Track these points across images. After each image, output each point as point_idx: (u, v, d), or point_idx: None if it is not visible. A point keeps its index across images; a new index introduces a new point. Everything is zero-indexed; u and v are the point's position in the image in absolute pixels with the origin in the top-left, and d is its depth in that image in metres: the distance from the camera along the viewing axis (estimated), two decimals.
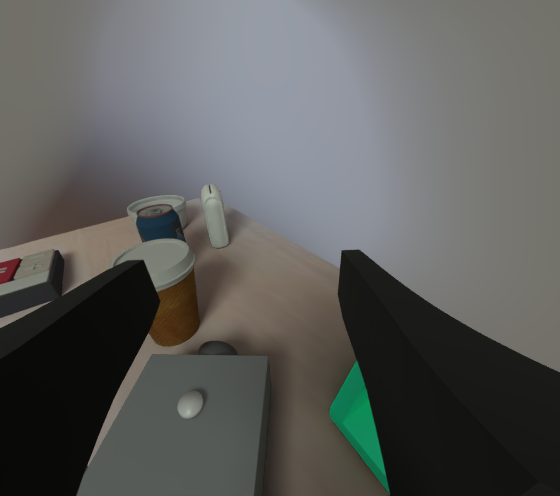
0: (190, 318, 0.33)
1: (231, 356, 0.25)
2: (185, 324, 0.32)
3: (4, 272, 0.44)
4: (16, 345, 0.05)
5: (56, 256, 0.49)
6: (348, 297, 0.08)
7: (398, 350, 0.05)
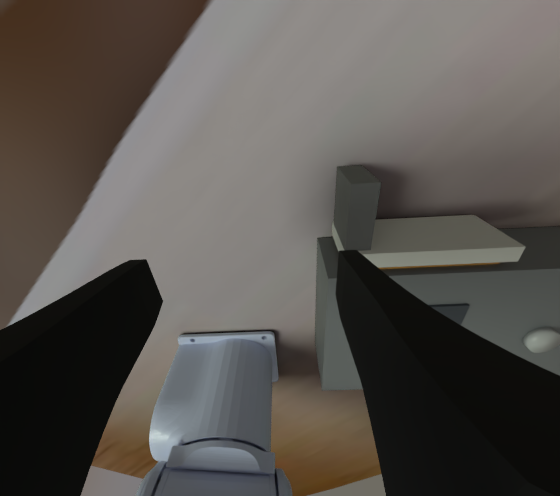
0: None
1: None
2: None
3: None
4: (21, 345, 0.05)
5: None
6: (345, 297, 0.08)
7: (393, 350, 0.05)
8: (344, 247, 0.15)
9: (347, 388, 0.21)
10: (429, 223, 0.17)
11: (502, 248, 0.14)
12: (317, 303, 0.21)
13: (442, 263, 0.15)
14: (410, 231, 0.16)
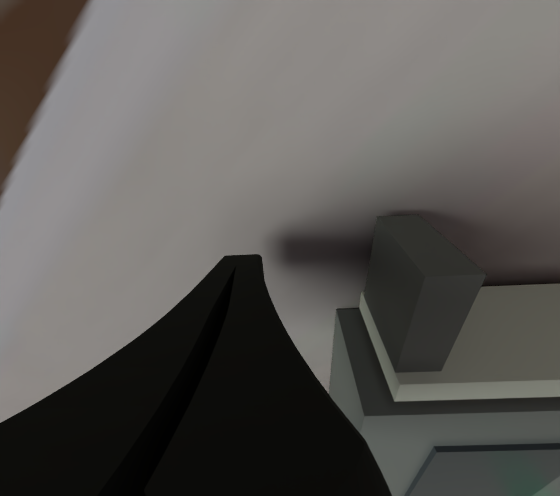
0: None
1: None
2: None
3: None
4: (189, 339, 0.05)
5: None
6: None
7: None
8: (394, 365, 0.08)
9: None
10: (519, 301, 0.11)
11: None
12: (333, 392, 0.15)
13: None
14: (495, 320, 0.10)
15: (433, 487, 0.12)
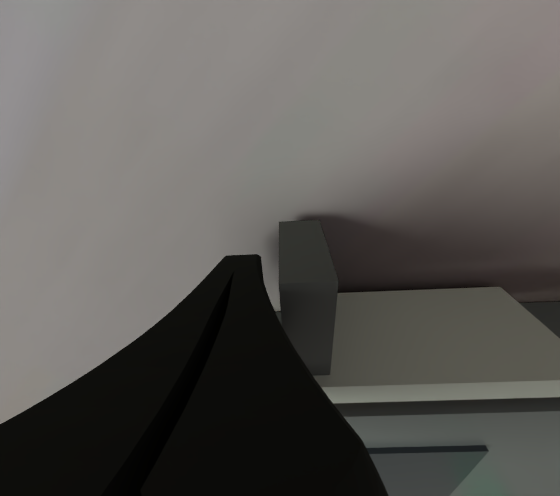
0: None
1: None
2: None
3: None
4: (191, 338, 0.05)
5: None
6: None
7: None
8: None
9: None
10: (431, 305, 0.11)
11: None
12: None
13: (455, 398, 0.08)
14: (401, 324, 0.10)
15: None
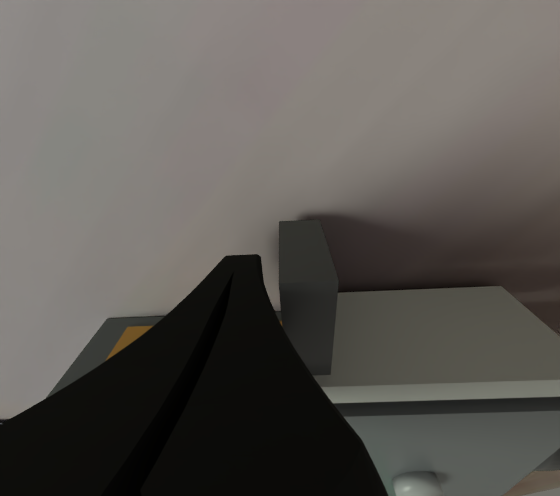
0: None
1: (501, 494, 0.13)
2: None
3: None
4: (191, 338, 0.05)
5: None
6: None
7: None
8: None
9: None
10: (432, 304, 0.11)
11: None
12: None
13: (456, 398, 0.08)
14: (402, 324, 0.10)
15: None
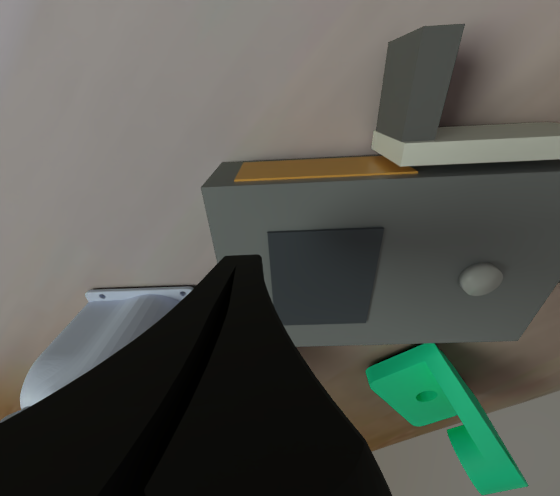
0: None
1: (541, 302, 0.16)
2: None
3: None
4: (189, 338, 0.05)
5: None
6: None
7: None
8: (400, 137, 0.11)
9: None
10: (496, 126, 0.14)
11: None
12: None
13: (527, 158, 0.11)
14: (477, 130, 0.13)
15: (286, 289, 0.15)
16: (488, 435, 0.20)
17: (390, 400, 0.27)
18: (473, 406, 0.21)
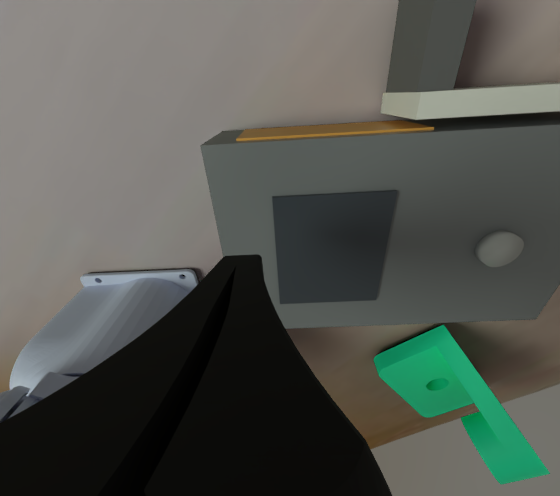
0: None
1: None
2: None
3: None
4: (189, 338, 0.05)
5: None
6: None
7: None
8: (415, 87, 0.11)
9: None
10: None
11: None
12: None
13: (552, 108, 0.11)
14: (495, 86, 0.12)
15: (292, 262, 0.14)
16: (506, 420, 0.19)
17: (400, 389, 0.26)
18: (489, 391, 0.20)
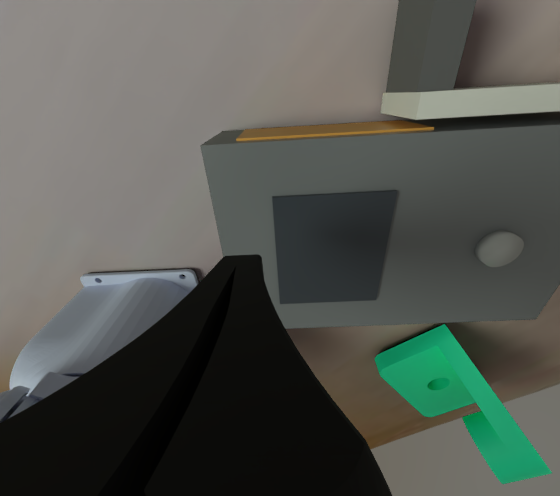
0: None
1: None
2: None
3: None
4: (189, 338, 0.05)
5: None
6: None
7: None
8: (415, 87, 0.11)
9: None
10: None
11: None
12: None
13: (552, 108, 0.11)
14: (495, 86, 0.12)
15: (292, 262, 0.14)
16: (508, 420, 0.19)
17: (401, 389, 0.26)
18: (491, 390, 0.20)
